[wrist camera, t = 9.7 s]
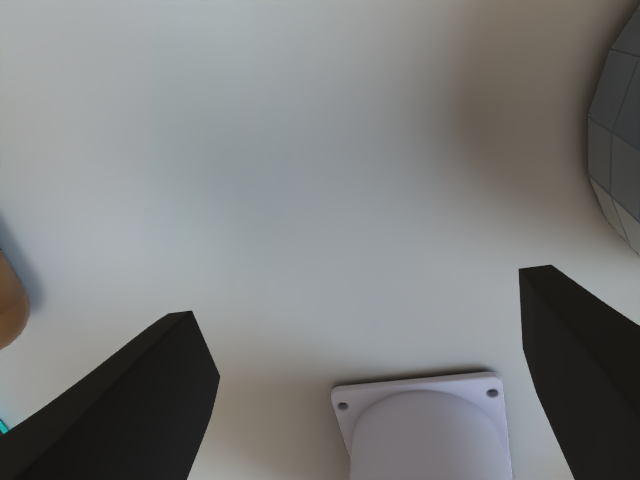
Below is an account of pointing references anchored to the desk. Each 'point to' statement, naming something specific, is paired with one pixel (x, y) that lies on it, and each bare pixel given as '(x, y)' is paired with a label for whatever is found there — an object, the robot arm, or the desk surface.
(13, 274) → the brown egg capsule
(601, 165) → the bowl
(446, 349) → the desk surface
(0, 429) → the handheld game console
